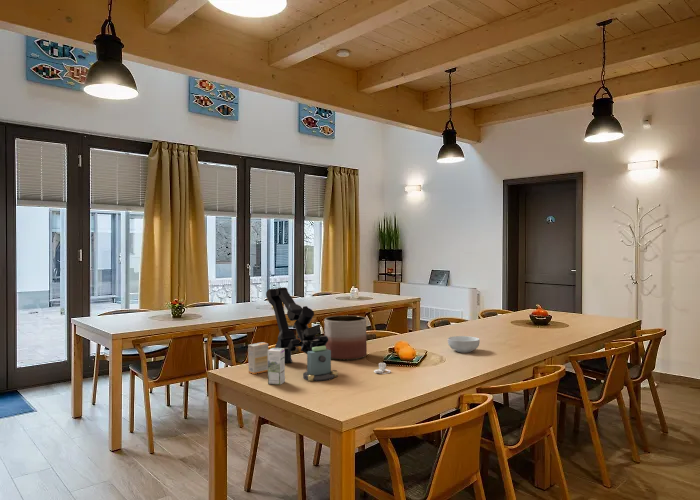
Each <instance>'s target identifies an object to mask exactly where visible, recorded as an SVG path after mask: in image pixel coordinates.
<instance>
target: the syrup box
mask: <svg viewBox="0 0 700 500" xmlns="http://www.w3.org/2000/svg"><path fill="white" fill-rule="evenodd" d="M285 364H286V363H285V349H284V348H276V347H271V348H270V349H269V348H268V371H267V384H268V385H275V386H276V385H277V386H280V385H282V384H284V383H285V382H286V377H285V374H286V373H285V369H286V368H285V367H286V365H285Z"/></svg>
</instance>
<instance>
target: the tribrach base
mask: <svg viewBox="0 0 700 500" xmlns="http://www.w3.org/2000/svg"><path fill="white" fill-rule="evenodd" d="M338 372H339V371H338V370H335V369H334V370H331V373H326V374H320V375H313V374H309V375H308V374H307V370H306V371H304V372H303V374H302V378H303V379H304V380H306V381H308V382H310V383H311V382H325V381H330V380H331V381H332V380H333V379H335V378H338V377H339V376H338Z"/></svg>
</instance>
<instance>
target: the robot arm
mask: <svg viewBox="0 0 700 500" xmlns="http://www.w3.org/2000/svg"><path fill="white" fill-rule="evenodd" d="M288 290H289V289H288V288H287V287H284V286H283V287H277V288H268V289H267V291H266V292H265V295H266V298H267V301H268V303H269V304H270V305H271V306H272V307H273V310H274V315H275V320H276V323H277V327H278V330H279V333H278V335H277V341H276V343H275V346H274V348H284V349H285V364H293V359H292V352H295V351H296V350H297V347H301V348H300V352H303V353H304V354H306V355H307V352H308V351H312V347H318V346H325V345H326V343H327V342H328V337H327V336H325V335H321V336H318V337H317V339H315V338H316V335H318V334H319V333H321V327H320V325H315V326H314V327H313V326H312V327H309V324H310V323H311V322H312V320H313V317H314V316H315V312H314V310H313V309H312V308H309V307H308V306H307V305H306V306H304V305H303V307H302V306H301V305H299V304H297V303H296V301H294V299H293V298H292V297H293V296H291V293H290V292H289V291H288ZM285 309H286V310H287V312H286V313H285ZM286 315H287V317H286ZM287 318H288V320H289V321H294V322H293V326H292V328H293V330H291V329H290V328H289V324H288V320H287ZM294 330H295V331H296V332H297V333H296V334H297V338H296V336H295V335H296V334H295V331H294Z"/></svg>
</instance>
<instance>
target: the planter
mask: <svg viewBox="0 0 700 500" xmlns="http://www.w3.org/2000/svg"><path fill="white" fill-rule="evenodd" d="M324 336H327V337H328V342H327V343H326V345H325V346H326V349H329V350H331V360H335V361H354V360H360V359H362V358H364V357H365V356H366V355H367V353H368V351H367V349H368V348H367V347H368V346H367V343H368V341H367V318H366V317H365V316H361V315H348V314H346V315H340V314H339V315H331V316H330V315H329V316H327V317H325V318H324Z"/></svg>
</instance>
